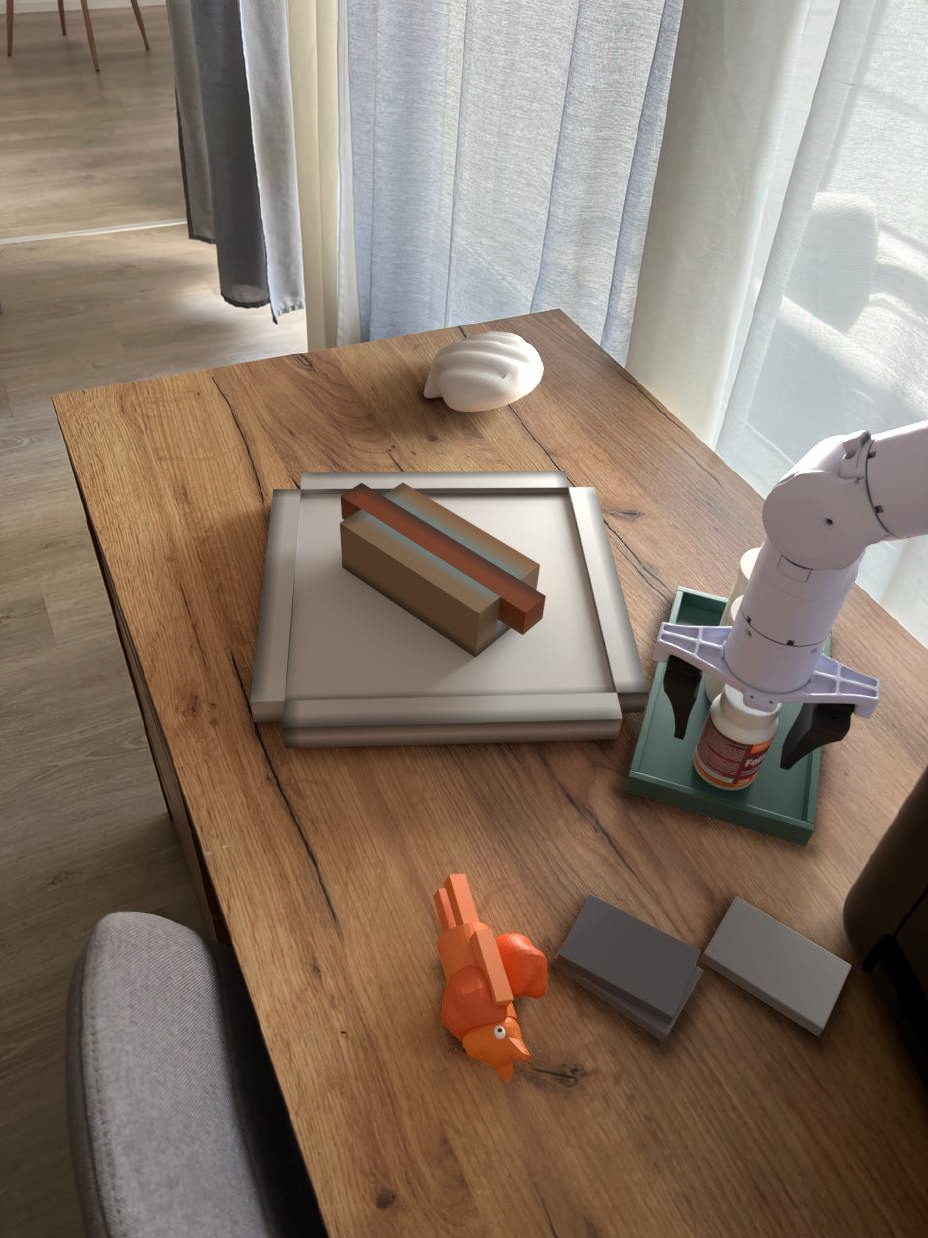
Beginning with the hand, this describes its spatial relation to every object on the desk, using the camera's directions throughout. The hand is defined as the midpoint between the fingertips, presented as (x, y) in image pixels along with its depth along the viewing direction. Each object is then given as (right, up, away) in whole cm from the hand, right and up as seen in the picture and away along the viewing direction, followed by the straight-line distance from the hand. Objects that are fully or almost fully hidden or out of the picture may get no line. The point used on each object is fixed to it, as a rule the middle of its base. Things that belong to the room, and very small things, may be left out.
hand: (732, 743), depth 70 cm
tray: (+2, +2, +6) cm, 7 cm away
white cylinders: (+3, +5, +9) cm, 11 cm away
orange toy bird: (-18, -14, -10) cm, 25 cm away
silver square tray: (-22, +10, +13) cm, 27 cm away
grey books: (-5, -13, -9) cm, 17 cm away
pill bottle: (0, -2, +2) cm, 3 cm away
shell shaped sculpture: (-18, +34, +36) cm, 52 cm away
